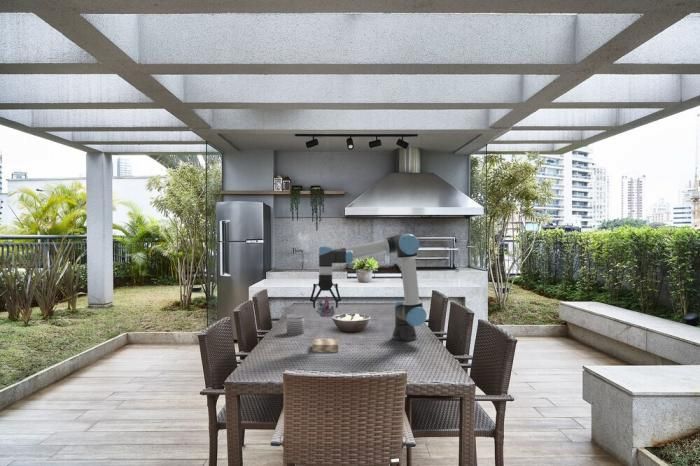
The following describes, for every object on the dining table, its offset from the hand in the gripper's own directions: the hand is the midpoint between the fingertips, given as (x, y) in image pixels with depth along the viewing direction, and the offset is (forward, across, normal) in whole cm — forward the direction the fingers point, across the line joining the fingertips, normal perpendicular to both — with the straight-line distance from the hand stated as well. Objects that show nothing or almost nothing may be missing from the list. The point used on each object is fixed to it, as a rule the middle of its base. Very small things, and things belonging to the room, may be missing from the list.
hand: (325, 313), depth 268 cm
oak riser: (+20, 0, 0) cm, 20 cm away
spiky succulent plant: (+1, 0, -1) cm, 2 cm away
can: (+20, +19, -43) cm, 51 cm away
